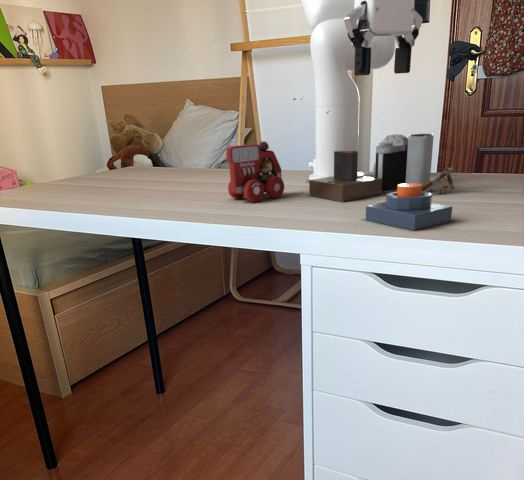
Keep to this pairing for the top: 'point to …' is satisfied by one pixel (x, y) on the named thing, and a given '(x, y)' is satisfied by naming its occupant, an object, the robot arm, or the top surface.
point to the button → (409, 189)
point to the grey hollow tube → (419, 158)
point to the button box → (409, 211)
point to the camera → (391, 161)
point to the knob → (345, 165)
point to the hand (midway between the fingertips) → (382, 74)
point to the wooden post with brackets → (438, 178)
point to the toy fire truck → (254, 172)
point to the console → (345, 188)
